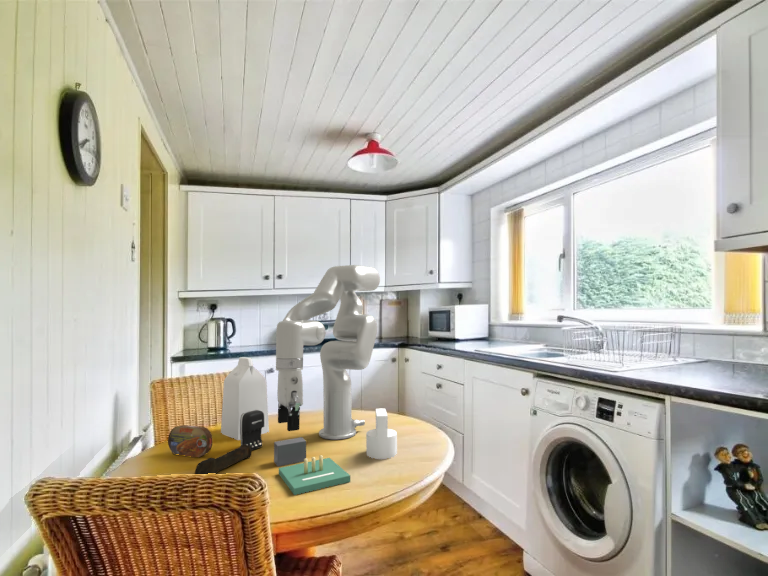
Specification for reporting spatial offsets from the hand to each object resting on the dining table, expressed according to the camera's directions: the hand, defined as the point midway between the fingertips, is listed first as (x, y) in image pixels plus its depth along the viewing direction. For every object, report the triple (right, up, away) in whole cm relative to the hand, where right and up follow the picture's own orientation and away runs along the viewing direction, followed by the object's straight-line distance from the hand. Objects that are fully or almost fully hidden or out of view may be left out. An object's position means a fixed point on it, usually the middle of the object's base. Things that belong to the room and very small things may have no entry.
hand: (288, 426), depth 111 cm
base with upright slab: (+26, -10, +5) cm, 29 cm away
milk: (-22, -12, +28) cm, 37 cm away
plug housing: (0, -10, 0) cm, 10 cm away
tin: (-31, -11, +7) cm, 33 cm away
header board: (+9, -9, -11) cm, 17 cm away
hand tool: (-16, -10, -5) cm, 20 cm away
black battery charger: (-13, -11, +11) cm, 20 cm away
